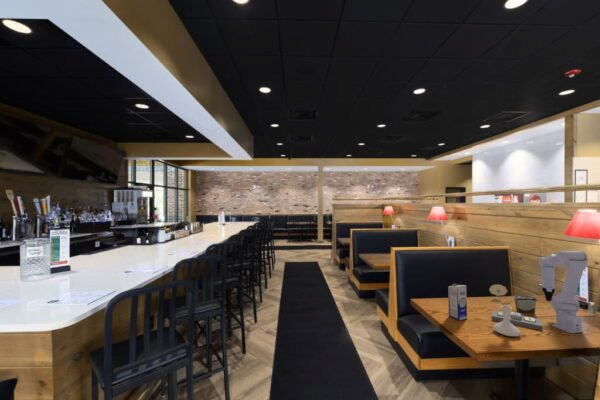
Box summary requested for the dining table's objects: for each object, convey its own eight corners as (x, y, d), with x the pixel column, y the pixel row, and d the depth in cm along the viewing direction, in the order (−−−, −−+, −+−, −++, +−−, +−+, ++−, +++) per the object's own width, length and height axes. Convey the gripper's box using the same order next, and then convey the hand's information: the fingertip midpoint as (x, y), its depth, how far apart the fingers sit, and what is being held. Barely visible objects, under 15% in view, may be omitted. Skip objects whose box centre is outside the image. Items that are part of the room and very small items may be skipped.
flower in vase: (522, 333, 142) (521, 285, 143) (518, 341, 134) (517, 290, 135) (492, 325, 152) (491, 280, 152) (487, 332, 144) (486, 284, 144)
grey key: (520, 317, 157) (520, 313, 157) (520, 320, 154) (520, 315, 154) (511, 315, 160) (511, 311, 160) (511, 318, 156) (510, 313, 156)
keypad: (541, 323, 154) (540, 319, 154) (542, 330, 145) (542, 325, 146) (493, 313, 168) (493, 310, 168) (492, 319, 159) (491, 315, 159)
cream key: (534, 323, 153) (534, 318, 153) (535, 325, 150) (534, 321, 150) (524, 321, 156) (524, 316, 156) (524, 323, 153) (524, 319, 153)
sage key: (507, 317, 161) (507, 313, 161) (507, 320, 157) (507, 315, 157) (498, 316, 163) (498, 311, 164) (498, 318, 160) (498, 314, 160)
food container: (530, 310, 172) (529, 294, 172) (537, 314, 166) (537, 297, 166) (509, 310, 173) (508, 294, 174) (515, 313, 167) (515, 297, 168)
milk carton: (458, 320, 158) (457, 286, 159) (448, 316, 165) (447, 283, 165) (467, 318, 161) (466, 284, 161) (457, 314, 167) (456, 281, 168)
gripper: (538, 274, 171) (538, 296, 171) (539, 279, 160) (540, 302, 160) (553, 276, 167) (554, 298, 166) (556, 281, 155) (556, 305, 155)
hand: (548, 300), depth 163 cm, fingers closed
